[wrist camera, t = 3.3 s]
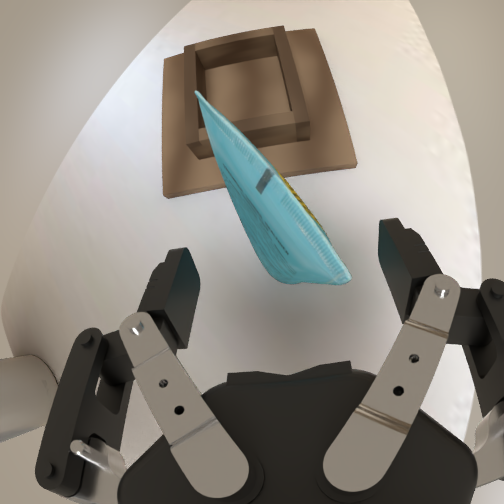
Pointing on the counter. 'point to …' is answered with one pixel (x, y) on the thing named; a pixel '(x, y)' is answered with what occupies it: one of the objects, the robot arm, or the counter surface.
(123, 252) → the counter surface
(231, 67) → the socket board
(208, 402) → the robot arm
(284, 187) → the tube
